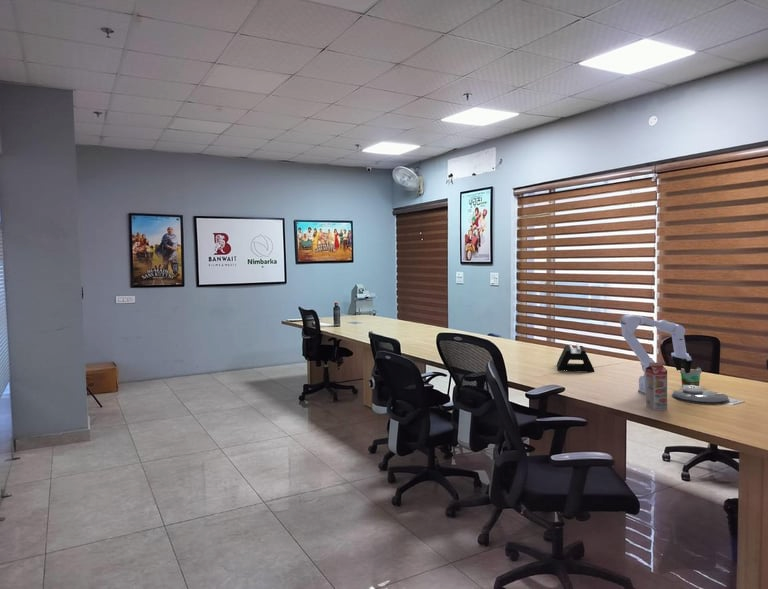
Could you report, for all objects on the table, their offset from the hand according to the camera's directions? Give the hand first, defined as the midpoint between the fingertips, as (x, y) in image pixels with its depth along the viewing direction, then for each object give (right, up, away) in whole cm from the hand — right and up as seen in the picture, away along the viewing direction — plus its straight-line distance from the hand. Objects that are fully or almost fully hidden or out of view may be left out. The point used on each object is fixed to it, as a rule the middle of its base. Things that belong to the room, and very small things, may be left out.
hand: (683, 371), depth 282 cm
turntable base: (0, -11, -15) cm, 19 cm away
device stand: (-32, -9, +71) cm, 78 cm away
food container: (+11, -10, +10) cm, 18 cm away
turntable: (0, -11, -15) cm, 19 cm away
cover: (0, -9, -9) cm, 13 cm away
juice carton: (-30, -13, -31) cm, 45 cm away
